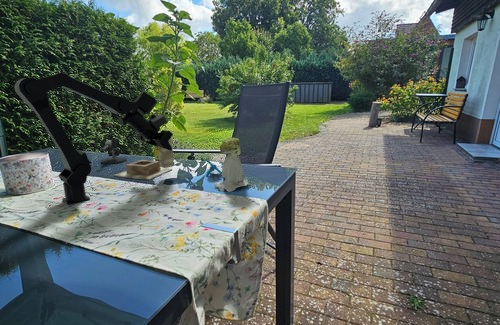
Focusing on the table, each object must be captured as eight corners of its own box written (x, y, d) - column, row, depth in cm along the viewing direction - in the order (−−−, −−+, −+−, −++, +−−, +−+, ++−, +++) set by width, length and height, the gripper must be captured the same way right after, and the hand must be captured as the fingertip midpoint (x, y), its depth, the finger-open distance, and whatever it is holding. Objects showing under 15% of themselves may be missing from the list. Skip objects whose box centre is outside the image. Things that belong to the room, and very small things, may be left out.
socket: (172, 170, 128) (171, 160, 127) (149, 180, 113) (148, 169, 112) (139, 167, 134) (138, 157, 133) (114, 176, 119) (112, 165, 118)
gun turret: (93, 168, 132) (89, 141, 129) (104, 159, 151) (100, 135, 148) (122, 166, 135) (118, 140, 132) (129, 157, 154) (126, 134, 151)
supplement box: (161, 162, 144) (160, 141, 141) (154, 160, 147) (153, 140, 145) (171, 160, 148) (169, 139, 146) (164, 158, 152) (162, 138, 149)
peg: (173, 166, 116) (171, 132, 112) (165, 168, 113) (162, 133, 109) (168, 164, 118) (165, 131, 115) (159, 166, 115) (157, 132, 112)
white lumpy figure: (255, 185, 106) (255, 137, 102) (232, 194, 97) (231, 141, 92) (232, 179, 114) (231, 134, 109) (208, 187, 104) (206, 138, 100)
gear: (226, 174, 115) (207, 158, 113) (216, 185, 115) (197, 169, 112) (222, 171, 126) (206, 156, 124) (214, 180, 125) (197, 166, 123)
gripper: (166, 108, 101) (193, 135, 111) (141, 107, 113) (167, 131, 124) (147, 132, 97) (177, 158, 108) (124, 128, 109) (152, 152, 120)
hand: (168, 149), depth 115 cm, fingers closed on peg, 4 cm apart
